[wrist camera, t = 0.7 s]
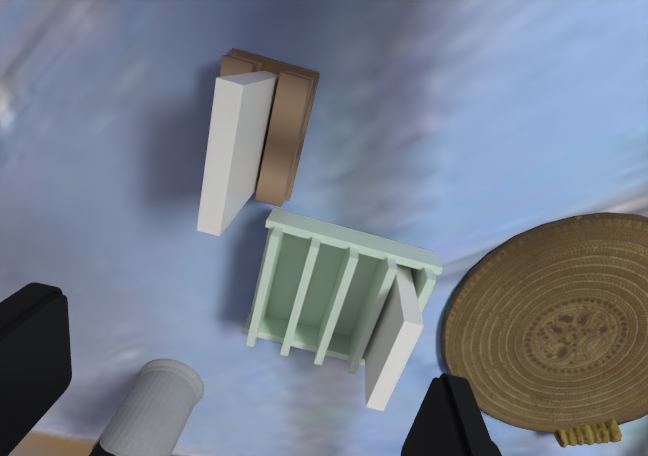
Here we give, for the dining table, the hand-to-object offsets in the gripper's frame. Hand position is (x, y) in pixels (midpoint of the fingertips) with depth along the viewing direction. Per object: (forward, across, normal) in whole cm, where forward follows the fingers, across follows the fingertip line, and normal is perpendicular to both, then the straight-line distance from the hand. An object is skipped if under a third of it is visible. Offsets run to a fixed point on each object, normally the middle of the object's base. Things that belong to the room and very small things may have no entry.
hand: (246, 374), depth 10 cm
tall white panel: (+28, +6, -1) cm, 28 cm away
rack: (+29, -5, +14) cm, 32 cm away
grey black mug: (+30, +13, +38) cm, 50 cm away
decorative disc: (+29, -32, +14) cm, 45 cm away
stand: (+28, +6, -1) cm, 29 cm away
